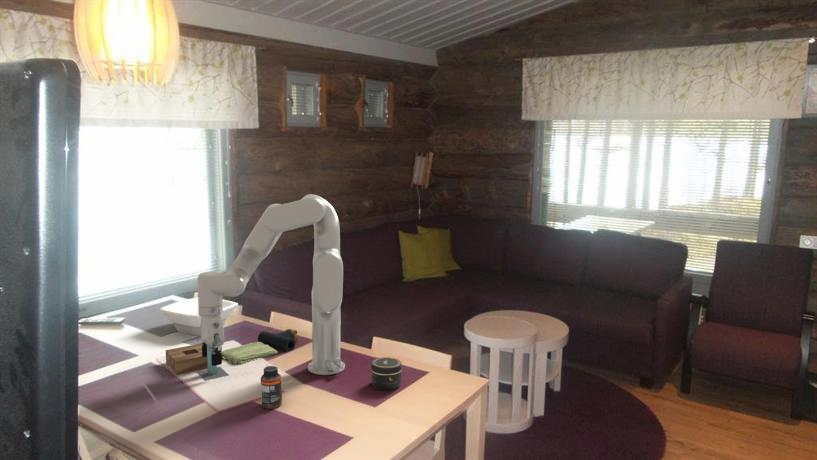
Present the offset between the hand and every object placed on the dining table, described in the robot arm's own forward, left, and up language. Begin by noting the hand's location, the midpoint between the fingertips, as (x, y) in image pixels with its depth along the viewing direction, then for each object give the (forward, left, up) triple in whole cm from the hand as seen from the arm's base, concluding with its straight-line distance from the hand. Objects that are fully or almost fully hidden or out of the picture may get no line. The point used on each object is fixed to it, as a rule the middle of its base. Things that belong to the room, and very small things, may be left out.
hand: (211, 360), depth 190 cm
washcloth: (+10, -17, -6) cm, 20 cm away
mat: (0, 0, -5) cm, 5 cm away
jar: (-40, -43, -5) cm, 58 cm away
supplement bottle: (-33, -7, -5) cm, 34 cm away
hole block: (+12, +3, -5) cm, 13 cm away
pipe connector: (+15, -32, -5) cm, 36 cm away
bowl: (+50, -12, -5) cm, 52 cm away
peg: (0, 0, -4) cm, 4 cm away
